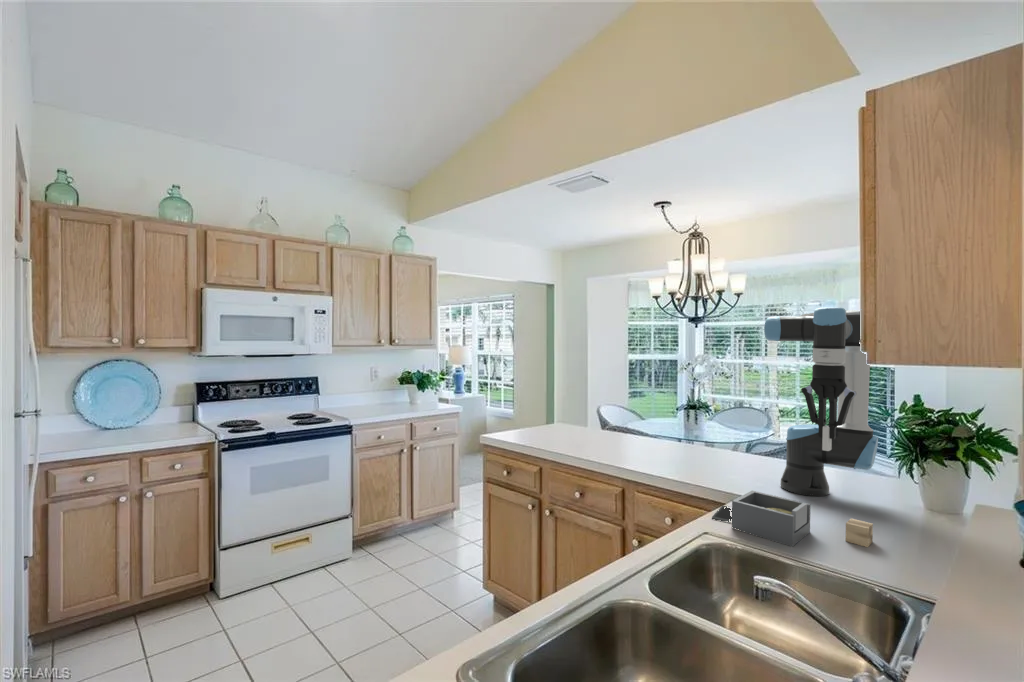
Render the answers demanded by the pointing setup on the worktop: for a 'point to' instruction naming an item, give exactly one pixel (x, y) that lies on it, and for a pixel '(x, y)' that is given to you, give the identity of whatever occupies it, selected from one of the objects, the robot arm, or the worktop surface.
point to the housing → (768, 517)
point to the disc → (781, 510)
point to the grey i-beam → (800, 516)
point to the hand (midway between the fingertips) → (826, 449)
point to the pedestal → (859, 532)
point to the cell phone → (722, 514)
